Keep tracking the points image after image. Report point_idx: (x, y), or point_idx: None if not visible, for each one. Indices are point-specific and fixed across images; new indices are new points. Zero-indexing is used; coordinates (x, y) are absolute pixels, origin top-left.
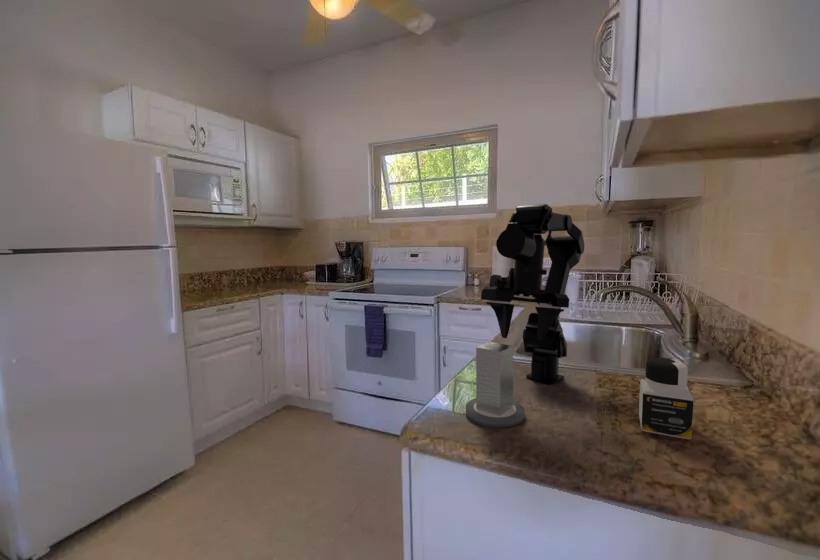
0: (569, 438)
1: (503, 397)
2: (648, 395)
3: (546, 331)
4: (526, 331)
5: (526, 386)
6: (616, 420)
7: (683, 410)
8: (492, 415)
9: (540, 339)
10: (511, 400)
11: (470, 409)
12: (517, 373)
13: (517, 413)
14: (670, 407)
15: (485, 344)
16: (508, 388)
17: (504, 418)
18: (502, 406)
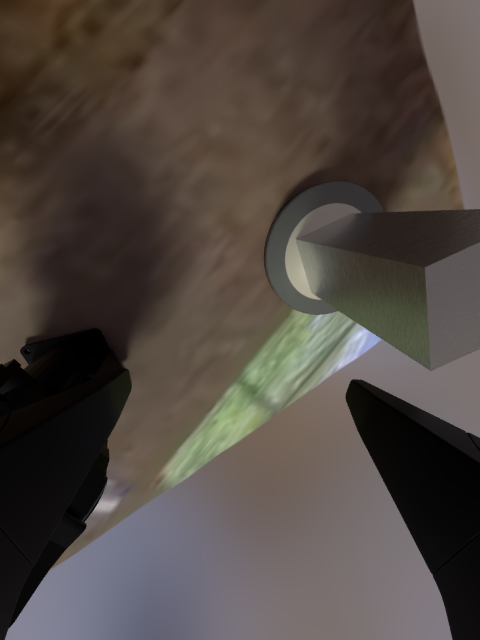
0: (274, 47)
1: (361, 220)
2: None
3: (76, 389)
4: (90, 501)
5: (160, 342)
6: (64, 37)
7: None
8: None
9: (127, 372)
10: (308, 238)
11: None
12: (129, 409)
13: (310, 204)
14: None
15: (477, 343)
16: (344, 233)
17: (352, 198)
18: (352, 217)
